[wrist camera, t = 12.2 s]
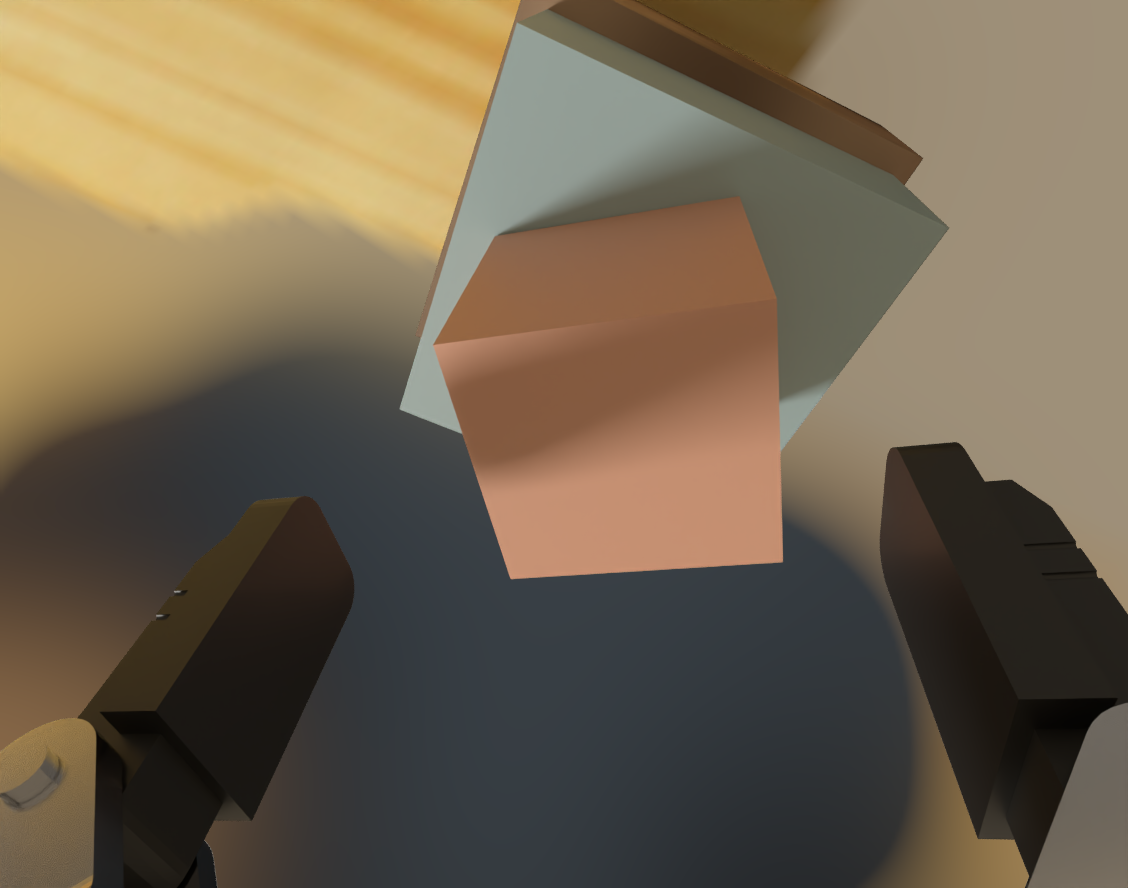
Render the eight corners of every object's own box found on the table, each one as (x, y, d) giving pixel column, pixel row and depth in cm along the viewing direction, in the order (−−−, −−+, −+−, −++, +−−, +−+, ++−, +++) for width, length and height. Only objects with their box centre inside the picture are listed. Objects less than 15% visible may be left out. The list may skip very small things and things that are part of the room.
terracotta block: (544, 431, 17) (510, 579, 13) (494, 236, 14) (433, 345, 10) (749, 410, 16) (782, 561, 12) (739, 196, 13) (776, 299, 9)
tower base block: (448, 284, 24) (415, 335, 21) (556, -41, 18) (533, -40, 15) (704, 394, 25) (710, 459, 22) (880, 124, 20) (923, 158, 16)
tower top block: (441, 338, 21) (399, 409, 17) (547, 9, 15) (516, 22, 12) (710, 447, 22) (718, 533, 18) (893, 175, 17) (949, 227, 13)
